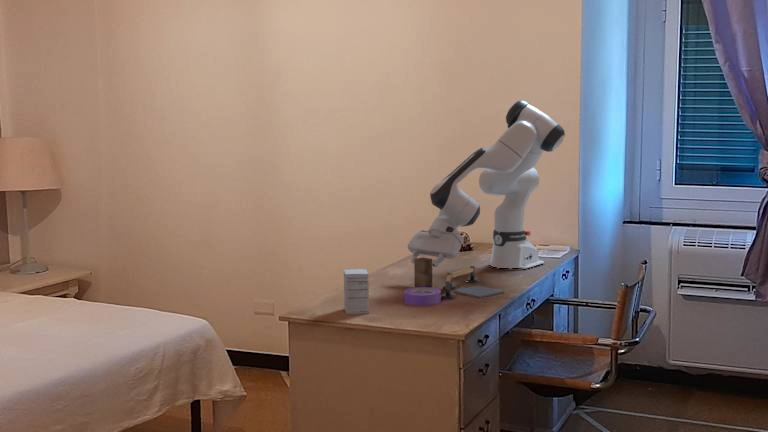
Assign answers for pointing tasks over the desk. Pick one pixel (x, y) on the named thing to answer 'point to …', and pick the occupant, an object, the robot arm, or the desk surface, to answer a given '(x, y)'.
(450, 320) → the desk surface
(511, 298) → the desk surface
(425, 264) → the tan stacked post
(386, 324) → the desk surface
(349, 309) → the supplement box
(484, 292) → the slate pad
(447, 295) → the hinged wooden linkage
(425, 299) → the masking tape
